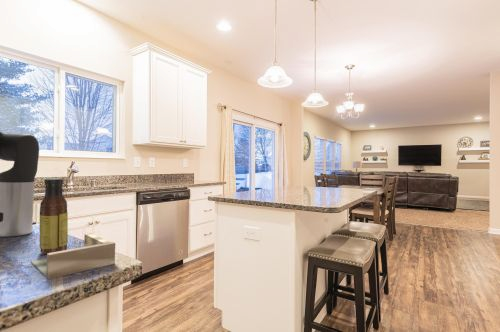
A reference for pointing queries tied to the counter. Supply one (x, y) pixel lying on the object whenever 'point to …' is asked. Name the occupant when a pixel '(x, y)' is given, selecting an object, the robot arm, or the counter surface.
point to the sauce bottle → (53, 218)
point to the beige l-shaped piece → (78, 258)
